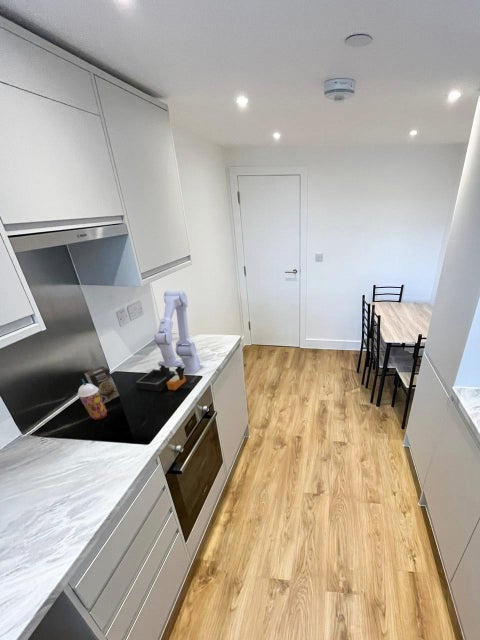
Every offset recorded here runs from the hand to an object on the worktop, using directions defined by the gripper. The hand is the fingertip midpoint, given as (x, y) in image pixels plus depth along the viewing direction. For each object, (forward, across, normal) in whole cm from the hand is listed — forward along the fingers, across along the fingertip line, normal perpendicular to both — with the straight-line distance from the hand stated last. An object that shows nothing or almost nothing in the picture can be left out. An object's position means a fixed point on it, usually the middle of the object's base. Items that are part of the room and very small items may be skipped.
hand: (175, 378), depth 170 cm
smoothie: (+4, -20, -33) cm, 39 cm away
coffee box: (+4, -28, -19) cm, 34 cm away
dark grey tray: (+4, -12, 0) cm, 13 cm away
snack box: (+4, 0, 0) cm, 4 cm away
